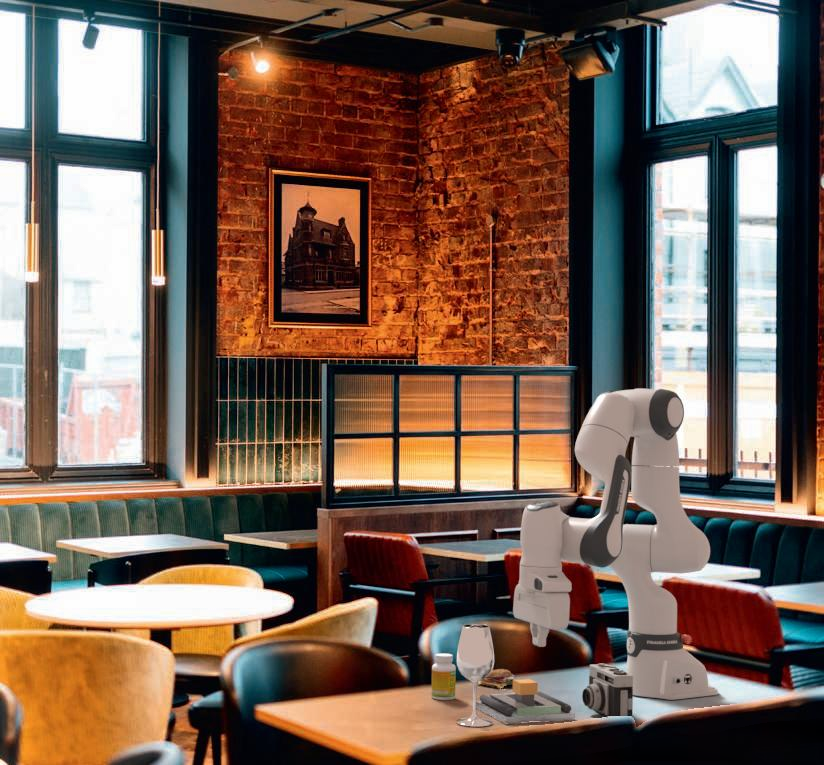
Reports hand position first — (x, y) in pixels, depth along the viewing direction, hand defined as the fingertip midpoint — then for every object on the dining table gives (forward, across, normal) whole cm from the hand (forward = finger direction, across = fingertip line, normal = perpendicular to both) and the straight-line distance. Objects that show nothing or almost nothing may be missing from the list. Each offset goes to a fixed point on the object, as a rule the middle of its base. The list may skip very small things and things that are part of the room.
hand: (539, 645), depth 276 cm
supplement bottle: (+16, -27, -11) cm, 33 cm away
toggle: (+14, -7, 0) cm, 16 cm away
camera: (+16, -3, +17) cm, 24 cm away
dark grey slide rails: (+14, -7, 0) cm, 16 cm away
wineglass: (+16, -2, -13) cm, 21 cm away
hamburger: (+16, -37, +7) cm, 41 cm away
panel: (+16, -7, 0) cm, 17 cm away
